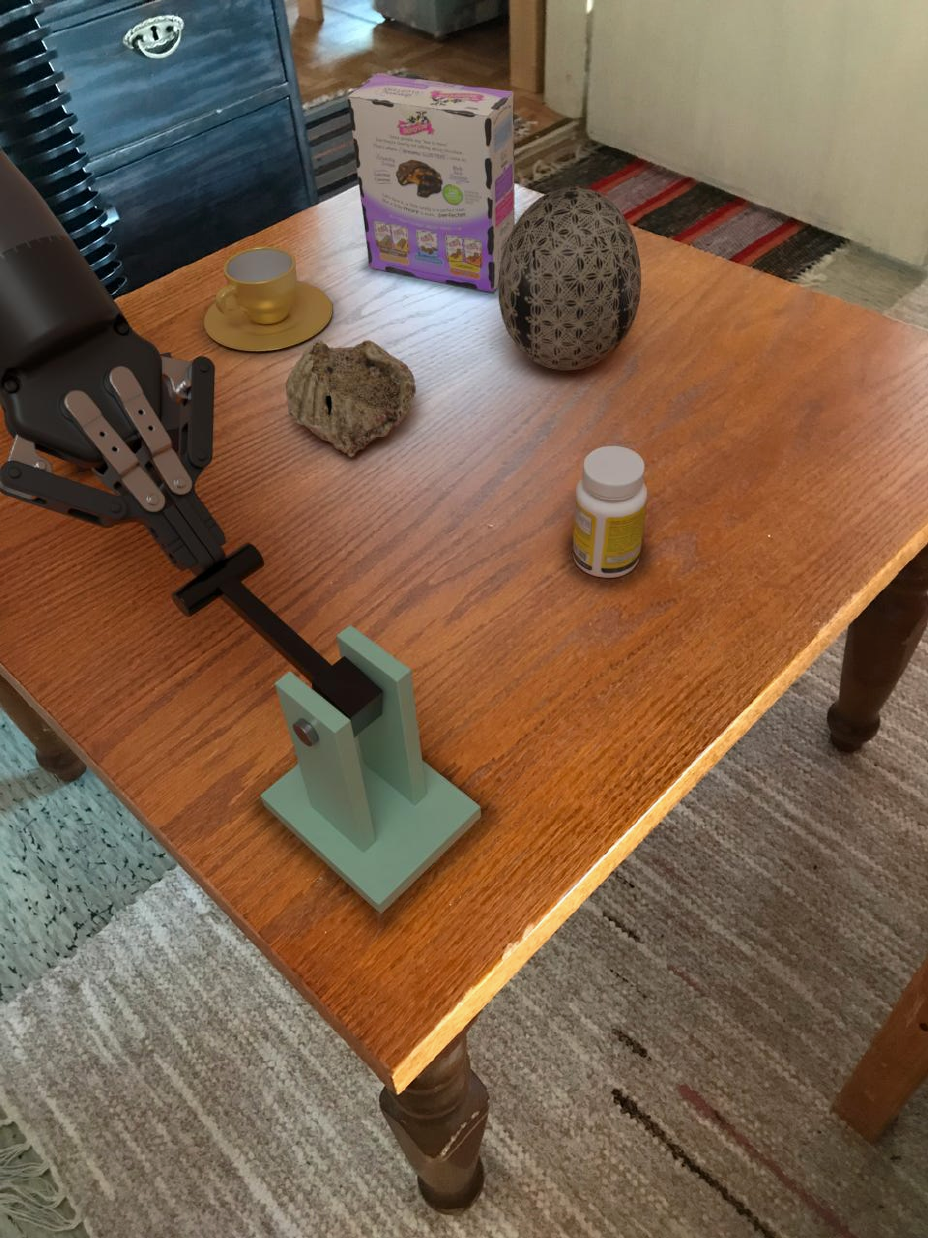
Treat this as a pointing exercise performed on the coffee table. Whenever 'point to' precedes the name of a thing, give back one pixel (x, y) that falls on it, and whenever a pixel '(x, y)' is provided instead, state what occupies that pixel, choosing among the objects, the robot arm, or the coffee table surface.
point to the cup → (265, 303)
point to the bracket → (366, 783)
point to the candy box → (435, 177)
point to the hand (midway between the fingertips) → (211, 566)
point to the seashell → (349, 393)
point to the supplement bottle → (609, 512)
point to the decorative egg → (569, 279)
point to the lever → (283, 636)
